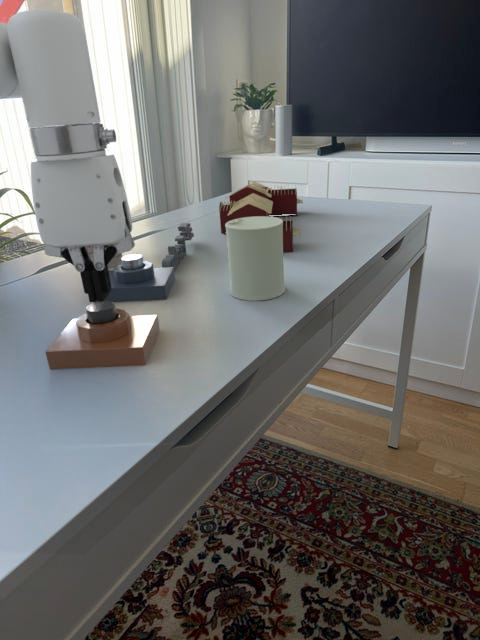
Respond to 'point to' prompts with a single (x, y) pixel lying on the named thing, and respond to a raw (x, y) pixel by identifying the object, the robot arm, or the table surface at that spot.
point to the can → (255, 257)
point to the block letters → (178, 247)
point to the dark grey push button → (101, 312)
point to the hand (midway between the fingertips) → (99, 297)
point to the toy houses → (262, 207)
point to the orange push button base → (104, 342)
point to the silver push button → (132, 262)
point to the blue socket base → (140, 283)
